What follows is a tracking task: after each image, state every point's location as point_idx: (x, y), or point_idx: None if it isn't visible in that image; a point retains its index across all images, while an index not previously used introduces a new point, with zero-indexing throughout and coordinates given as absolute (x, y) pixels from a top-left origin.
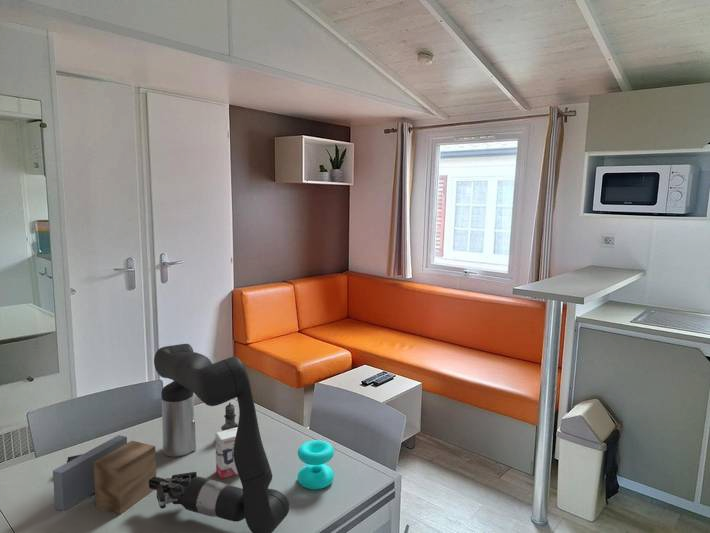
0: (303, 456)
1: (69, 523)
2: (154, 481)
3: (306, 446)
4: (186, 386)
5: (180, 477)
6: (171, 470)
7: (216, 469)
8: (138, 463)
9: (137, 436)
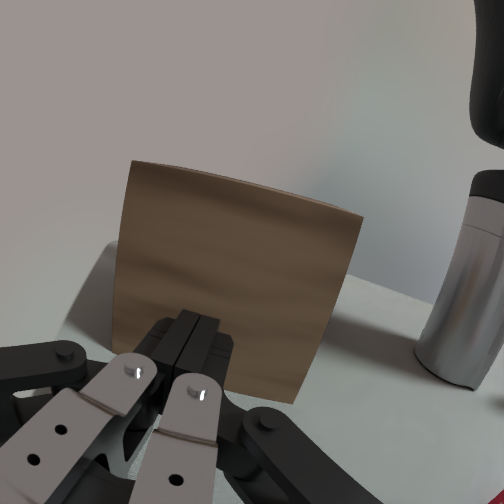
0: None
1: (95, 281)
2: (171, 332)
3: None
4: None
5: (282, 485)
6: (391, 394)
7: (495, 499)
8: (238, 222)
9: (401, 303)
